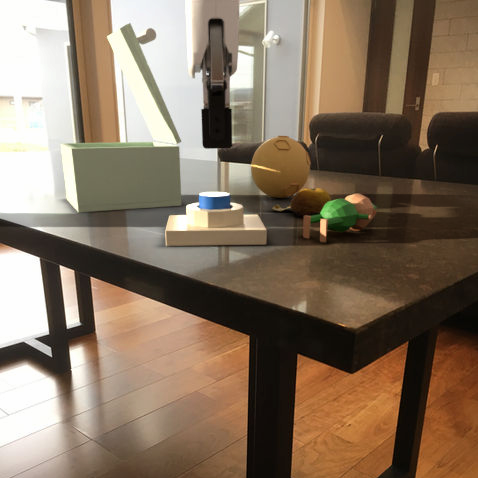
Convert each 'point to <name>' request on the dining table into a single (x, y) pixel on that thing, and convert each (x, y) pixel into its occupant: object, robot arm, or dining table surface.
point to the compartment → (121, 175)
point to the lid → (143, 81)
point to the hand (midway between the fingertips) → (217, 147)
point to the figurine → (342, 215)
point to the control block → (215, 227)
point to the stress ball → (280, 167)
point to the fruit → (307, 202)
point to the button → (214, 200)
